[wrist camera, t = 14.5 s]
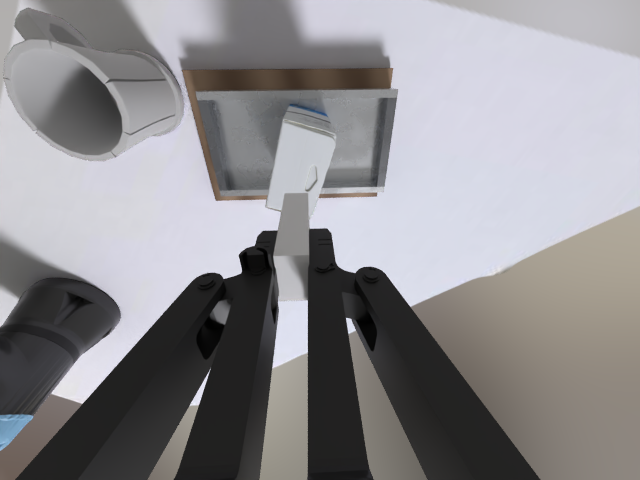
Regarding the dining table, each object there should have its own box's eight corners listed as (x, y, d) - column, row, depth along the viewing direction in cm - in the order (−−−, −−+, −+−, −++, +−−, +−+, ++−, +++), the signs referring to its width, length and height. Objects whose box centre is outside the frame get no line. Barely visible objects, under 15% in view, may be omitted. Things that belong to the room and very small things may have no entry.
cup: (87, 104, 31) (-18, 120, 21) (91, 18, 26) (-39, -14, 16) (177, 147, 34) (123, 178, 24) (194, 76, 30) (137, 79, 20)
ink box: (289, 101, 30) (281, 116, 20) (329, 114, 31) (339, 134, 21) (275, 170, 34) (263, 209, 24) (310, 179, 35) (312, 221, 25)
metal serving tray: (226, 187, 36) (220, 196, 34) (204, 90, 30) (195, 91, 27) (378, 184, 37) (383, 192, 35) (390, 87, 30) (398, 89, 28)
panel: (217, 197, 38) (215, 200, 37) (185, 70, 29) (182, 70, 28) (375, 193, 39) (376, 196, 38) (390, 68, 30) (393, 68, 29)
